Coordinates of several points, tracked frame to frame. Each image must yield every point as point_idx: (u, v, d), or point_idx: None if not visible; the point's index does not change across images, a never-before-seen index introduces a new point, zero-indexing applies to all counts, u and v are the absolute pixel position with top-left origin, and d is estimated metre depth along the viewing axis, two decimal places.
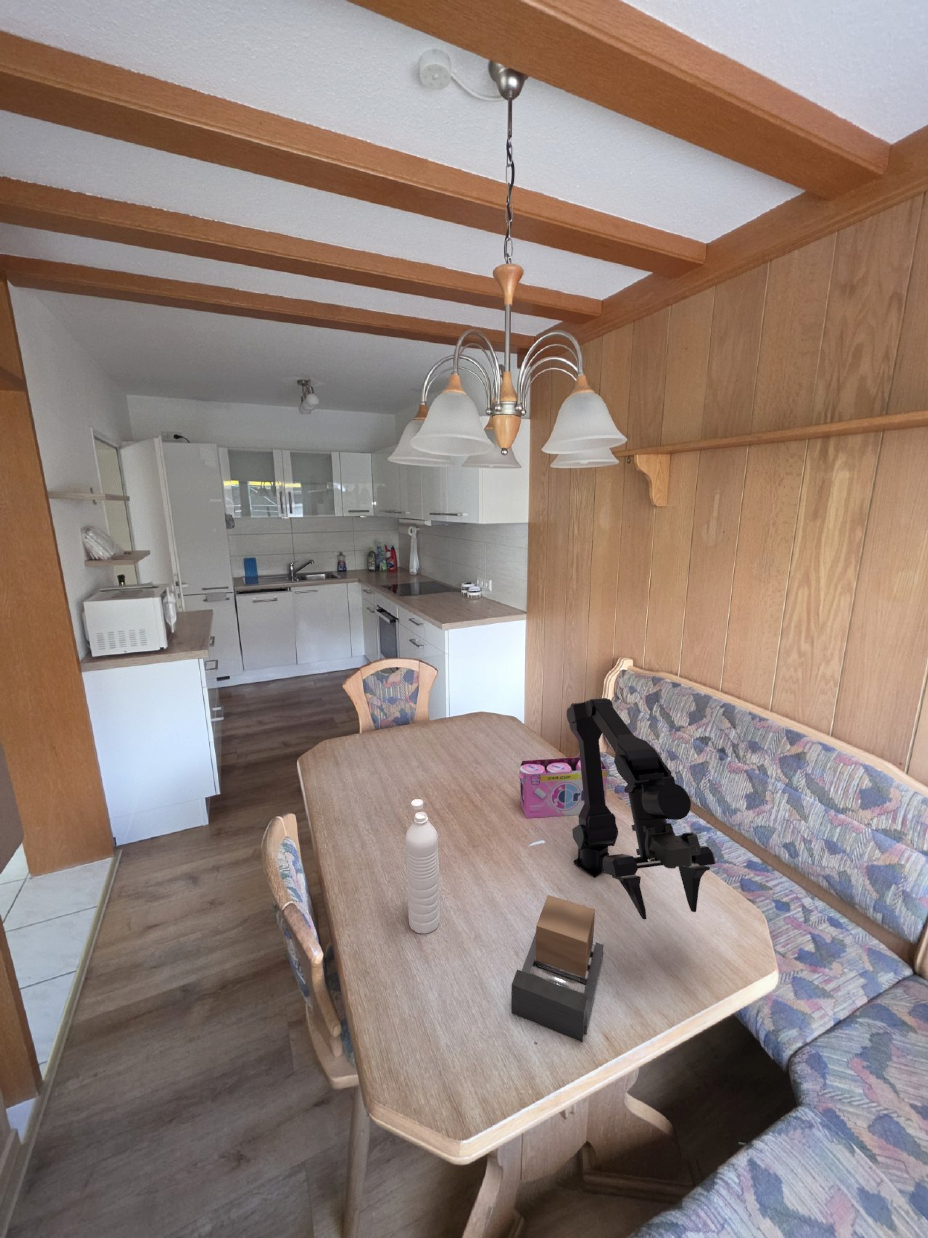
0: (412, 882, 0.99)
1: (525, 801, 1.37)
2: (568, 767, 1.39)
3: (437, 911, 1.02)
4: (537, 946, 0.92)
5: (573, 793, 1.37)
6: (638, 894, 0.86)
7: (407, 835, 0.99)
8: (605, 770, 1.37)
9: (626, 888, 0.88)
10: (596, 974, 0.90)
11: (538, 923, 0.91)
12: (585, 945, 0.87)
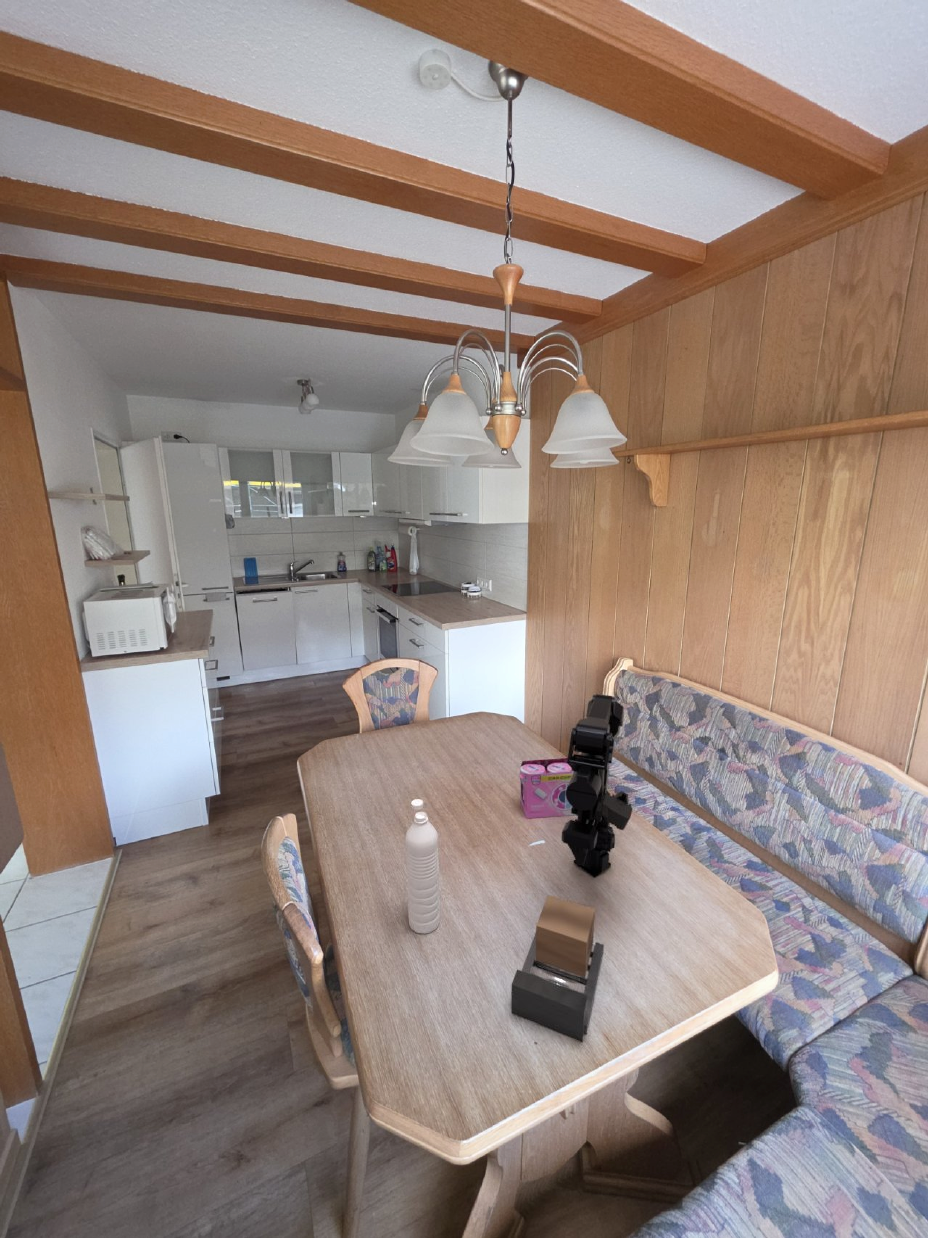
0: (412, 882, 0.99)
1: (525, 801, 1.37)
2: (568, 767, 1.39)
3: (437, 911, 1.02)
4: (537, 946, 0.92)
5: None
6: (587, 851, 0.99)
7: (407, 835, 0.99)
8: None
9: (572, 847, 1.00)
10: (596, 974, 0.90)
11: (538, 923, 0.91)
12: (585, 945, 0.87)
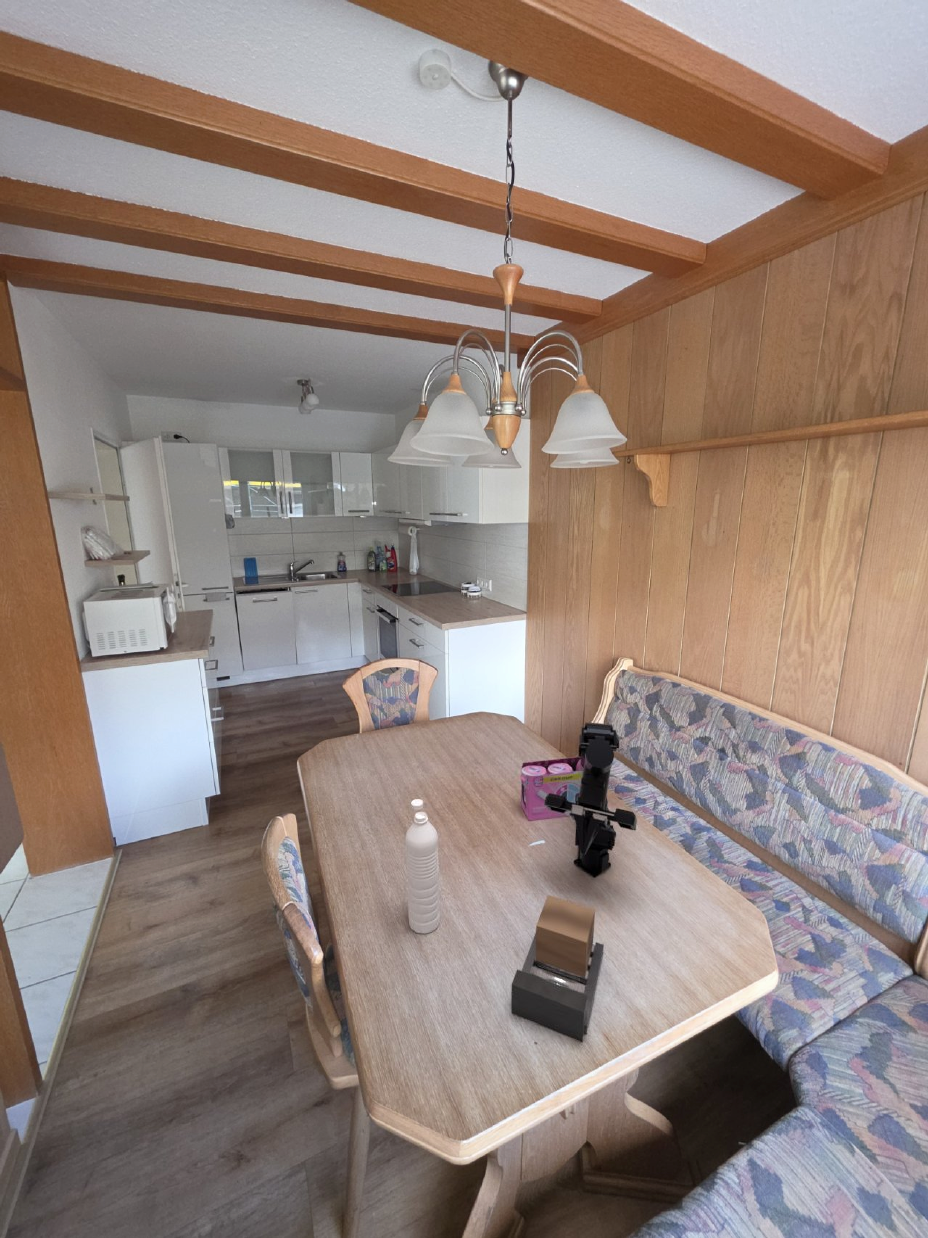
0: (412, 882, 0.99)
1: (528, 803, 1.36)
2: (569, 767, 1.39)
3: (437, 911, 1.02)
4: (537, 946, 0.92)
5: (575, 793, 1.37)
6: None
7: (407, 835, 0.99)
8: None
9: None
10: (596, 974, 0.90)
11: (538, 923, 0.91)
12: (585, 945, 0.87)
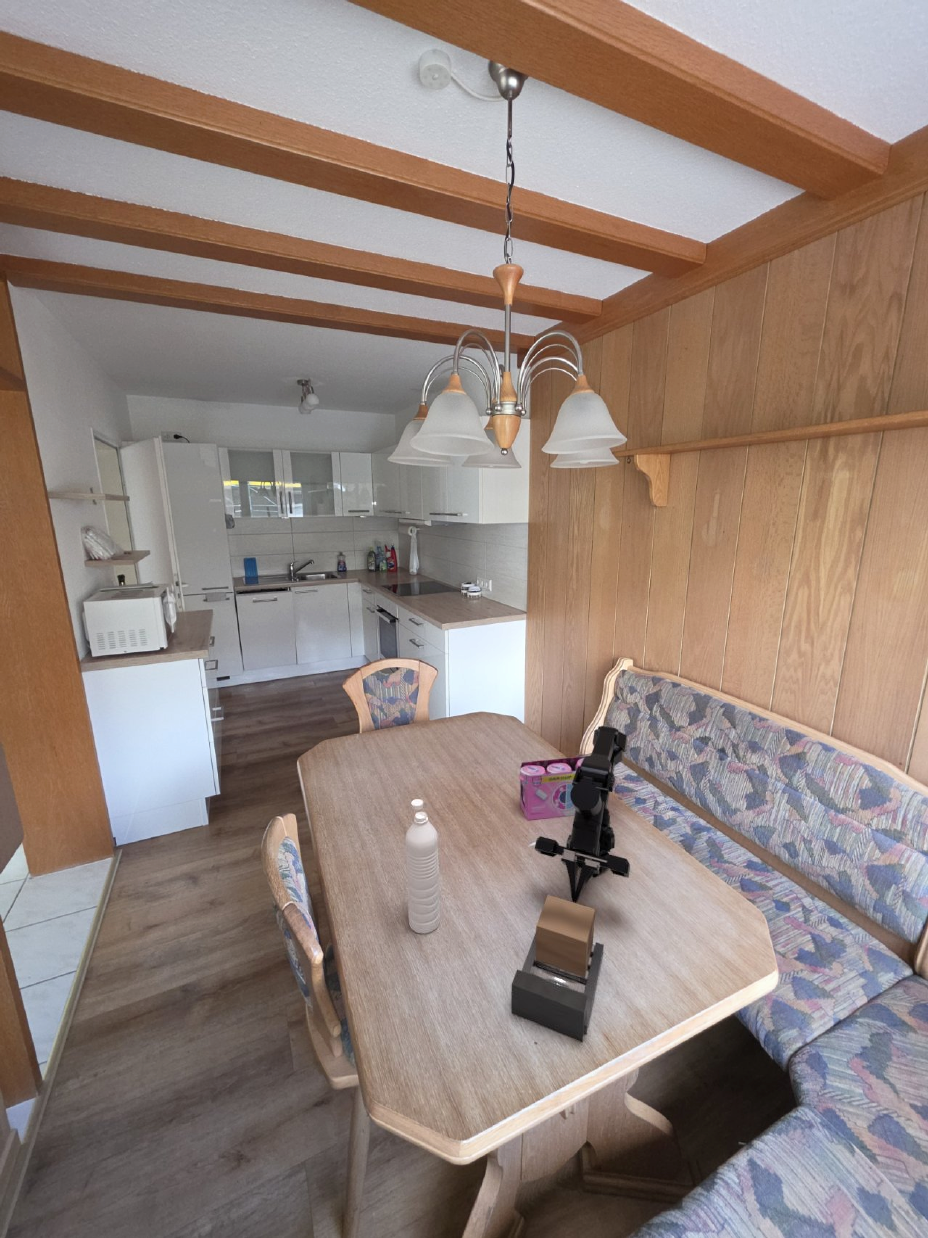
0: (412, 882, 0.99)
1: (526, 803, 1.36)
2: (568, 767, 1.39)
3: (437, 911, 1.02)
4: (537, 946, 0.92)
5: None
6: None
7: (407, 835, 0.99)
8: None
9: (586, 878, 1.00)
10: (596, 974, 0.90)
11: (538, 923, 0.91)
12: (585, 945, 0.87)
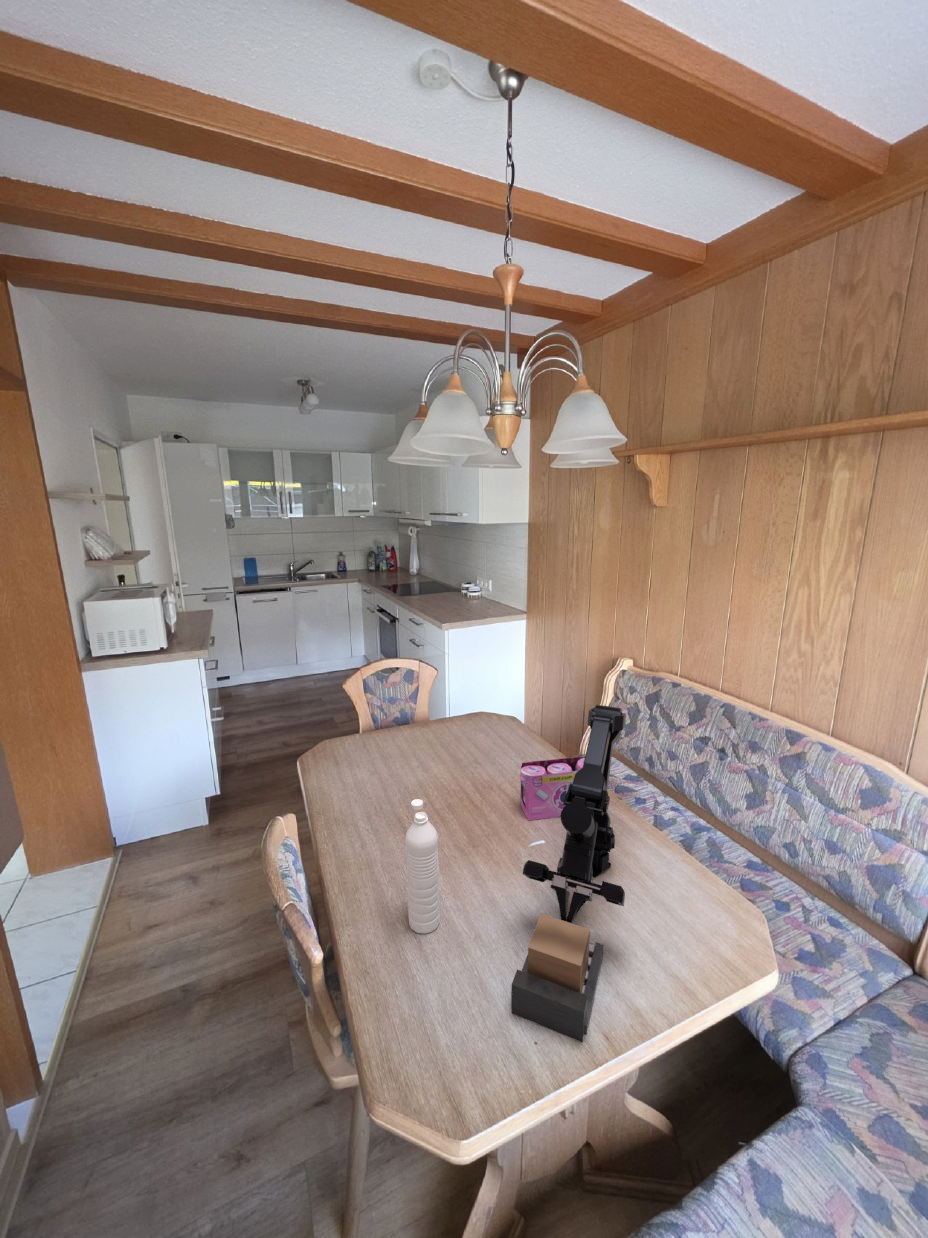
0: (412, 882, 0.99)
1: (527, 803, 1.36)
2: (568, 767, 1.39)
3: (437, 911, 1.02)
4: (529, 969, 0.87)
5: None
6: None
7: (407, 835, 0.99)
8: None
9: (577, 907, 0.93)
10: (596, 974, 0.90)
11: (530, 944, 0.87)
12: (579, 969, 0.83)
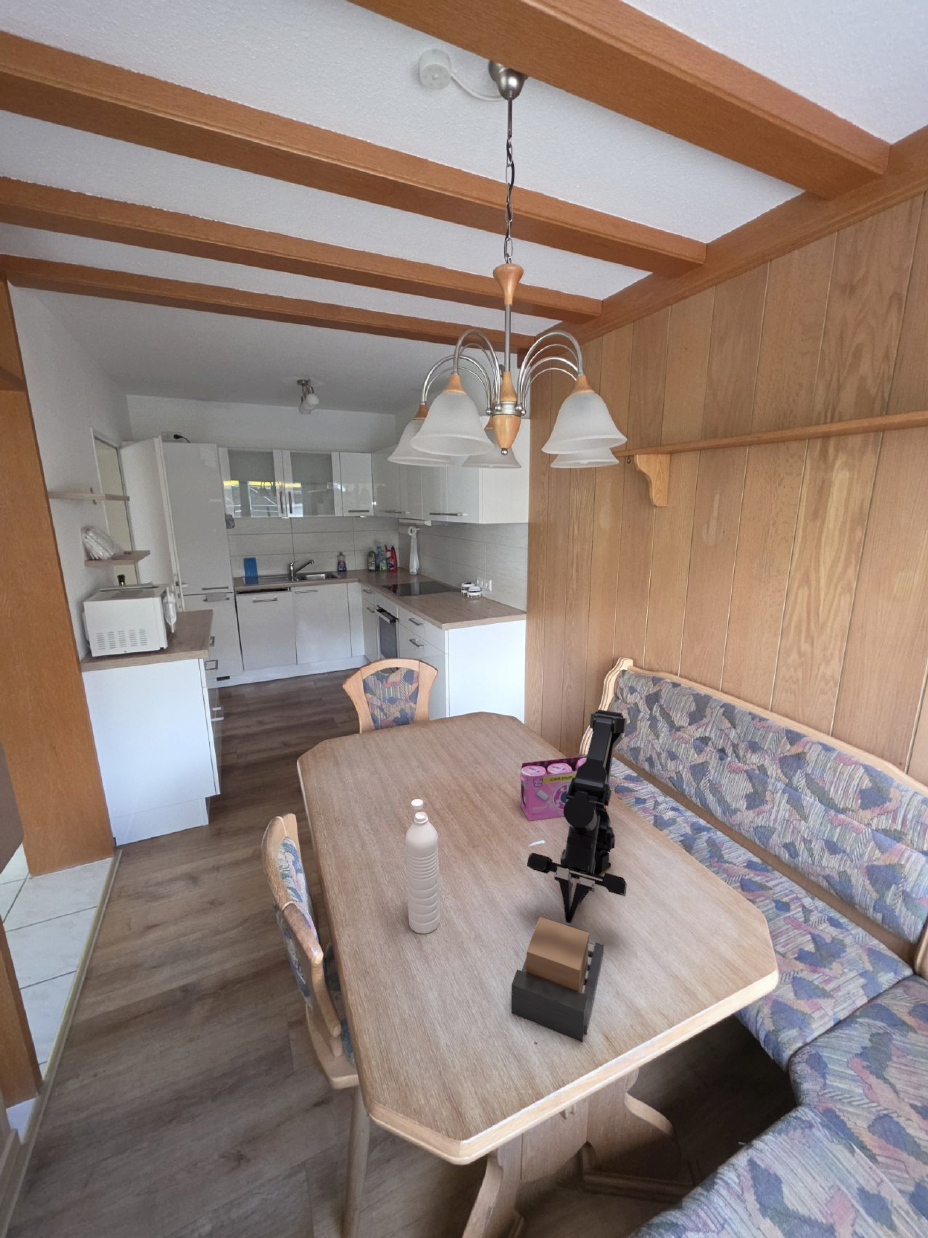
0: (412, 882, 0.99)
1: (527, 804, 1.36)
2: (568, 767, 1.39)
3: (437, 911, 1.02)
4: (528, 973, 0.86)
5: None
6: None
7: (407, 835, 0.99)
8: None
9: (580, 898, 0.96)
10: (596, 974, 0.90)
11: (529, 948, 0.86)
12: (578, 973, 0.82)
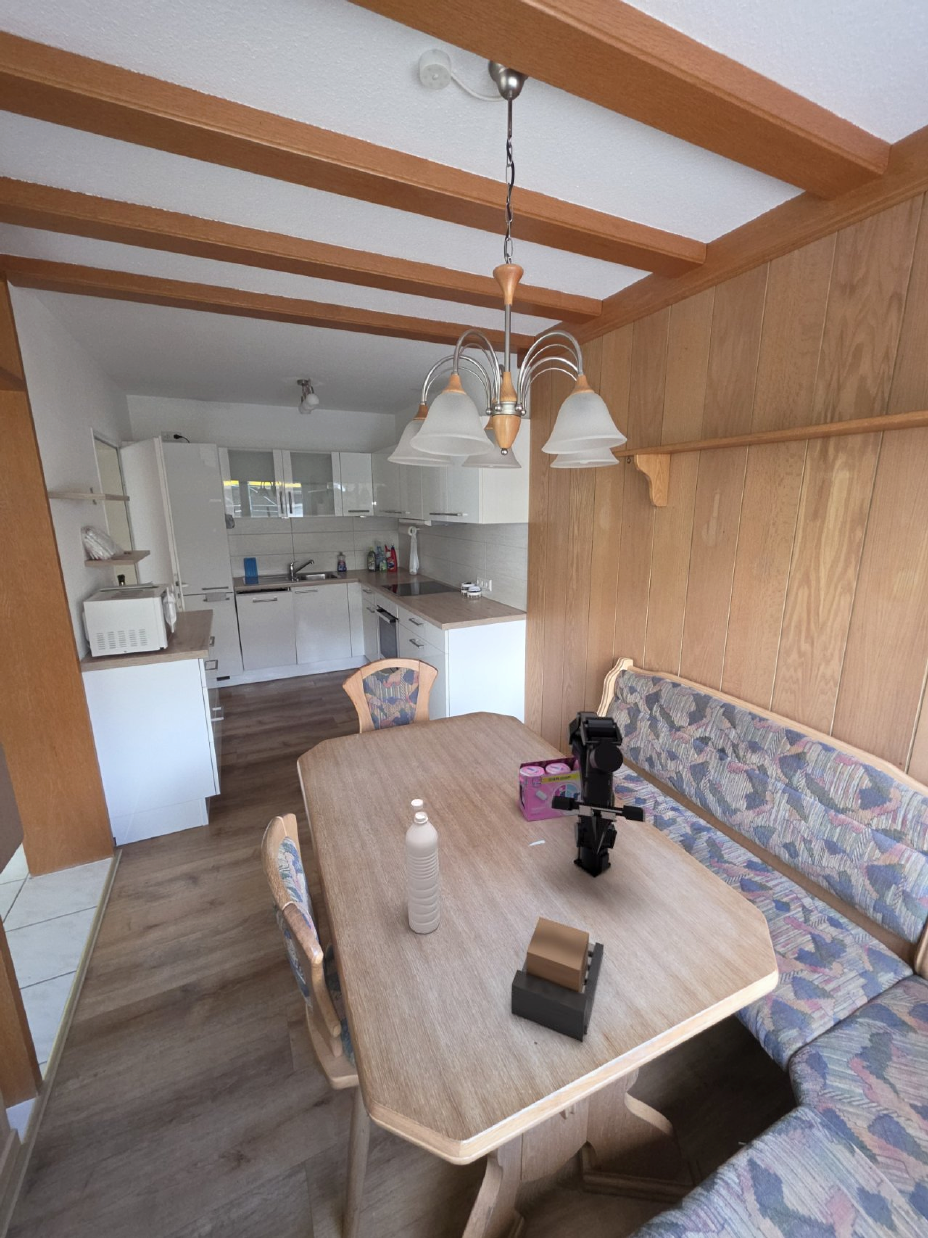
0: (412, 882, 0.99)
1: (526, 804, 1.36)
2: (567, 767, 1.39)
3: (437, 911, 1.02)
4: (528, 973, 0.86)
5: (573, 793, 1.37)
6: None
7: (407, 835, 0.99)
8: None
9: (604, 830, 1.04)
10: (596, 974, 0.90)
11: (529, 948, 0.86)
12: (578, 973, 0.82)
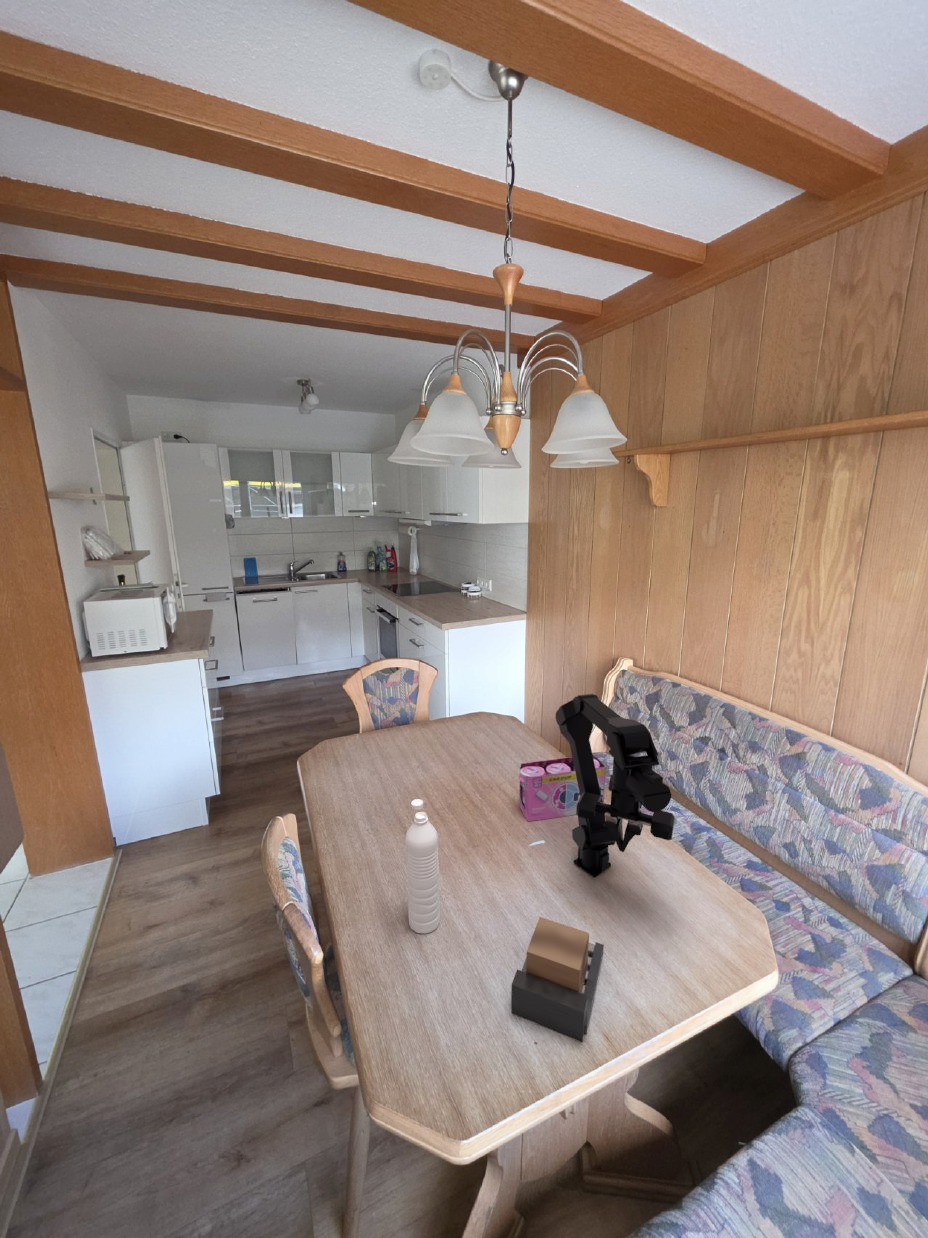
0: (412, 882, 0.99)
1: (527, 804, 1.36)
2: (567, 767, 1.39)
3: (437, 911, 1.02)
4: (528, 973, 0.86)
5: (573, 793, 1.37)
6: None
7: (407, 835, 0.99)
8: (604, 768, 1.38)
9: None
10: (596, 974, 0.90)
11: (529, 948, 0.86)
12: (578, 973, 0.82)
